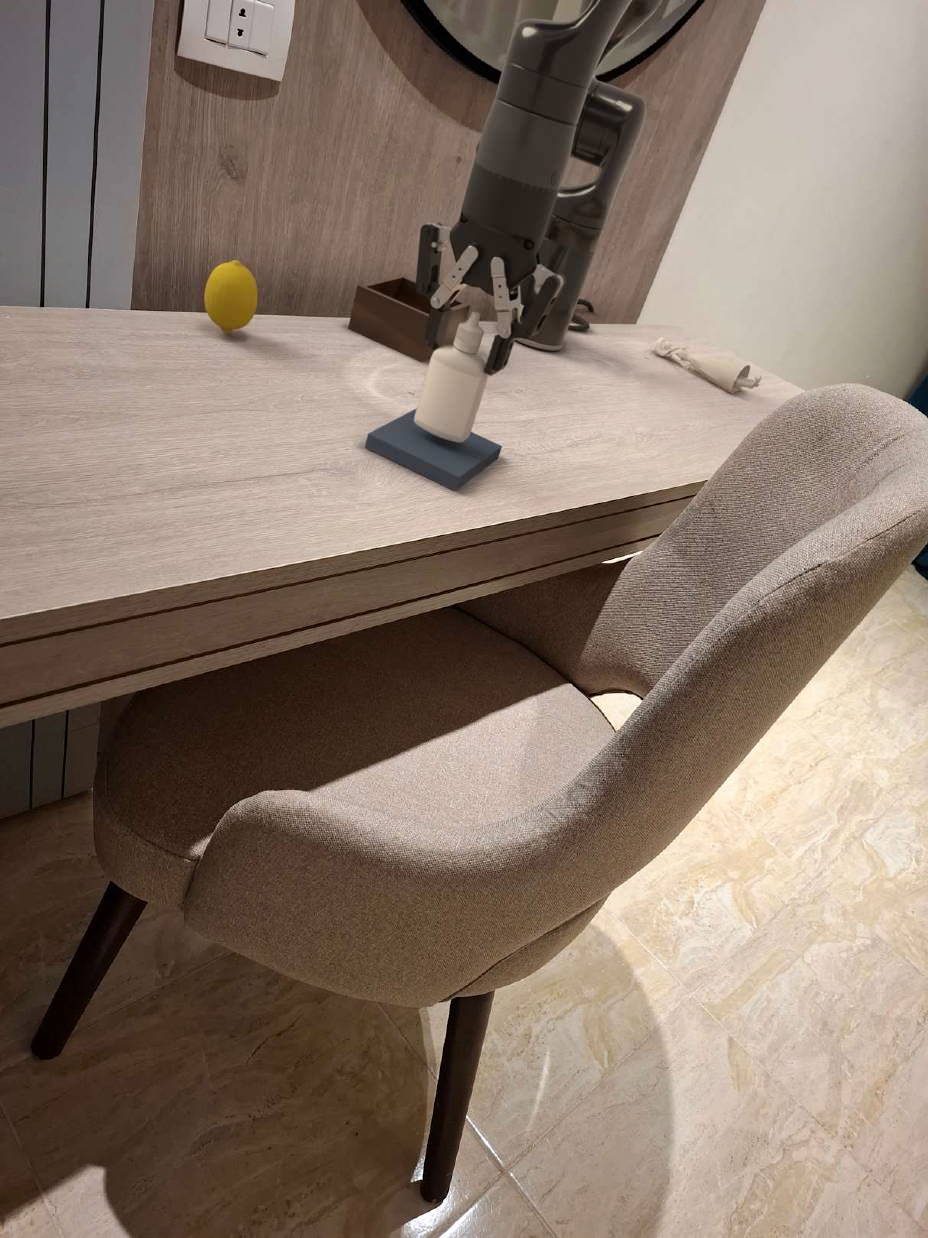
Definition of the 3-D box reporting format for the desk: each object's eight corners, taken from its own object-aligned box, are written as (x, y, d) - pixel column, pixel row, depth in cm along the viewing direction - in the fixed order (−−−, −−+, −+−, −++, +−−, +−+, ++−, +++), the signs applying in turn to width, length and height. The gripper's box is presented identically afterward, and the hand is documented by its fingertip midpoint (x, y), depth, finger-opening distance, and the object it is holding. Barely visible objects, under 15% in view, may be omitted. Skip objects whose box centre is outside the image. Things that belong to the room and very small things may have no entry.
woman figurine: (750, 375, 134) (644, 333, 141) (738, 403, 136) (634, 360, 143) (774, 366, 142) (673, 327, 149) (762, 393, 145) (664, 353, 152)
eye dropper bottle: (442, 446, 86) (478, 325, 80) (406, 418, 89) (439, 299, 82) (474, 443, 89) (512, 326, 82) (439, 416, 92) (473, 300, 85)
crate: (390, 314, 122) (400, 274, 119) (458, 345, 120) (470, 304, 117) (347, 328, 113) (357, 284, 110) (420, 361, 111) (432, 318, 108)
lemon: (192, 331, 98) (201, 256, 93) (212, 318, 102) (221, 246, 98) (241, 348, 98) (252, 274, 93) (258, 334, 102) (270, 263, 98)
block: (414, 419, 96) (418, 406, 95) (497, 458, 94) (502, 445, 93) (364, 447, 87) (368, 433, 86) (455, 491, 85) (459, 477, 84)
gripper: (607, 198, 77) (542, 382, 87) (461, 140, 80) (413, 324, 89) (582, 202, 71) (515, 399, 81) (425, 139, 74) (377, 337, 83)
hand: (462, 359), depth 85 cm, fingers closed on eye dropper bottle, 5 cm apart
